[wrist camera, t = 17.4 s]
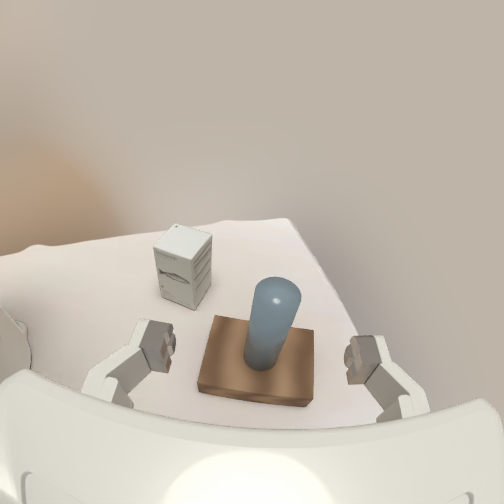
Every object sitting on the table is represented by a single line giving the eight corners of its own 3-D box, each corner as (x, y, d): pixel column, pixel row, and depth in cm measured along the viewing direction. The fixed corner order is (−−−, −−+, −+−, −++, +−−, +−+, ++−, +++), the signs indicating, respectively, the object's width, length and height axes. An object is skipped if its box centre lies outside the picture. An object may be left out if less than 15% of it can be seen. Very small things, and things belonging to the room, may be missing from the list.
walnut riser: (199, 391, 36) (197, 382, 33) (214, 328, 45) (214, 314, 42) (305, 407, 35) (313, 398, 33) (307, 342, 44) (313, 330, 42)
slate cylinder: (240, 368, 36) (251, 308, 27) (245, 339, 40) (257, 273, 31) (275, 373, 36) (301, 315, 27) (278, 344, 39) (301, 280, 30)
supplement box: (160, 297, 48) (150, 245, 40) (180, 272, 54) (175, 221, 46) (195, 312, 47) (191, 260, 39) (212, 284, 53) (213, 232, 44)
